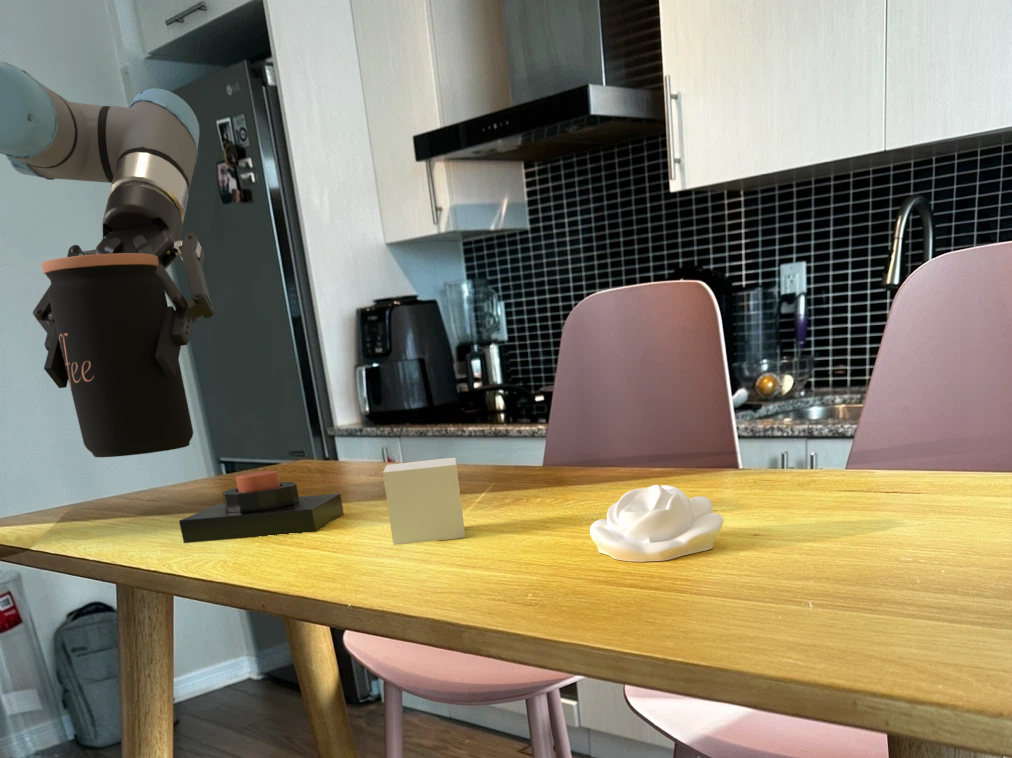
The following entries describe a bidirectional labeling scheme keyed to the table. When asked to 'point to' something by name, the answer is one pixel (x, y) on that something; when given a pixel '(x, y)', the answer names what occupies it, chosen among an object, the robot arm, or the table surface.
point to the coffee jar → (117, 353)
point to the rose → (656, 525)
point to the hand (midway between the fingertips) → (109, 372)
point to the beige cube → (424, 501)
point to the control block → (262, 514)
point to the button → (257, 481)
